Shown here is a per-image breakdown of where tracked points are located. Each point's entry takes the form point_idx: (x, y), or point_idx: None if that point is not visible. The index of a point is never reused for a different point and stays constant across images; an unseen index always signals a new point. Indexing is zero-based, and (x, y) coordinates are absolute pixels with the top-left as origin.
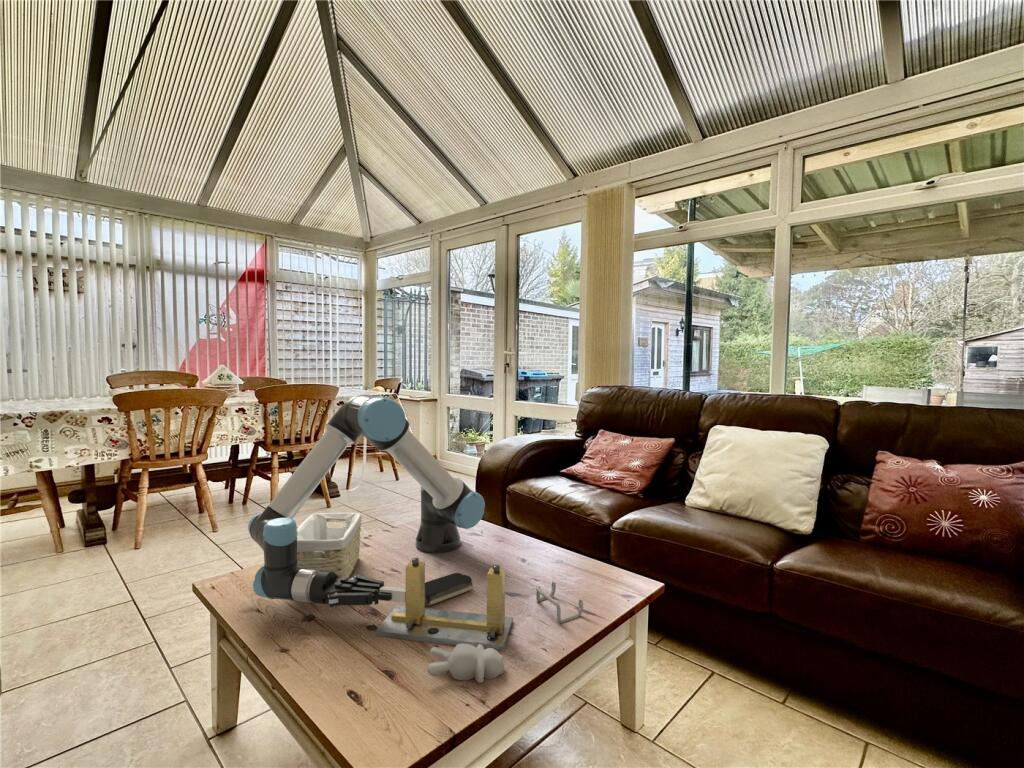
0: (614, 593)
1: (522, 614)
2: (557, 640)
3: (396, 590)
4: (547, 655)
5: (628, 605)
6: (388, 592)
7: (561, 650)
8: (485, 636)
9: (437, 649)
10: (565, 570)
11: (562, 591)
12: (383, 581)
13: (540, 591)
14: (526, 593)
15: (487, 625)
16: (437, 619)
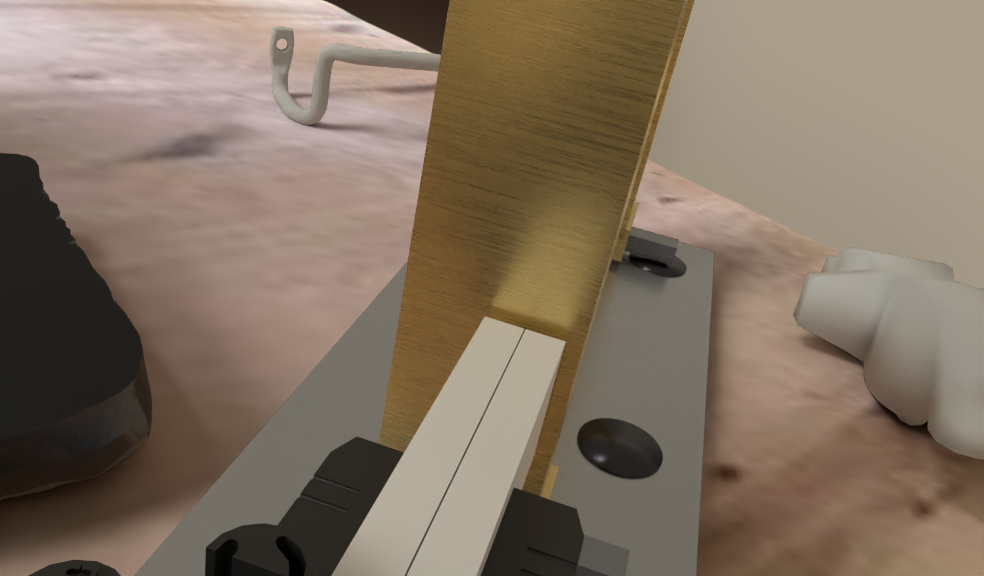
0: (319, 33)
1: (405, 174)
2: None
3: (530, 406)
4: (705, 205)
5: (404, 44)
6: (503, 522)
7: (668, 178)
8: (649, 276)
9: (976, 406)
10: (59, 22)
11: (247, 73)
12: (67, 564)
13: (392, 54)
14: (208, 123)
15: (628, 228)
16: None
